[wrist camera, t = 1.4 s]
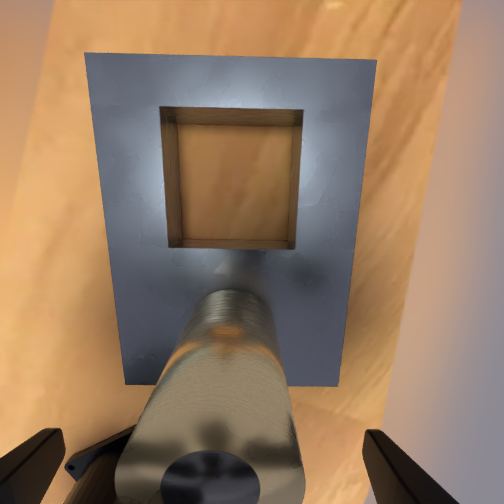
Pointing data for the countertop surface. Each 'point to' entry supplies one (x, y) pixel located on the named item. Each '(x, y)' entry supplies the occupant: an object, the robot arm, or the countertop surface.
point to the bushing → (217, 416)
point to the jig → (230, 251)
